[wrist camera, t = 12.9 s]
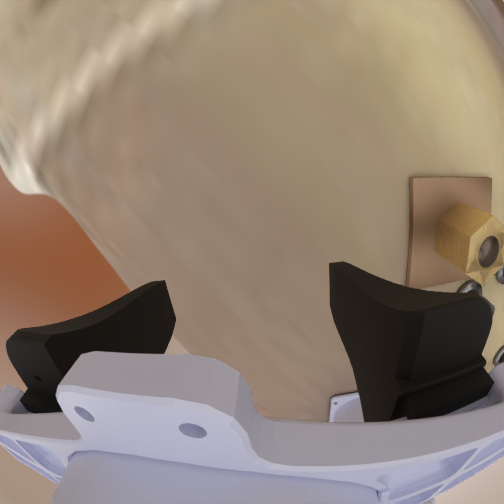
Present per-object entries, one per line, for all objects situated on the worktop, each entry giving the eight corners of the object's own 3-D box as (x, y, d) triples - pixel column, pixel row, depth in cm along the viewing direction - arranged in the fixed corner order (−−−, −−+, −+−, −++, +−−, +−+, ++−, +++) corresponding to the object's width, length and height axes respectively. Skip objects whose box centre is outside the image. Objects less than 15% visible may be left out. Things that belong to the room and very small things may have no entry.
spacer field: (499, 371, 27) (510, 386, 24) (420, 405, 29) (429, 425, 25) (540, 242, 20) (560, 253, 16) (461, 259, 22) (484, 275, 18)
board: (479, 272, 22) (482, 274, 21) (405, 287, 23) (408, 290, 22) (488, 177, 19) (491, 178, 18) (409, 177, 19) (413, 178, 19)
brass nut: (470, 259, 21) (500, 281, 16) (432, 265, 21) (462, 291, 17) (475, 200, 19) (511, 214, 14) (437, 202, 19) (472, 217, 15)
